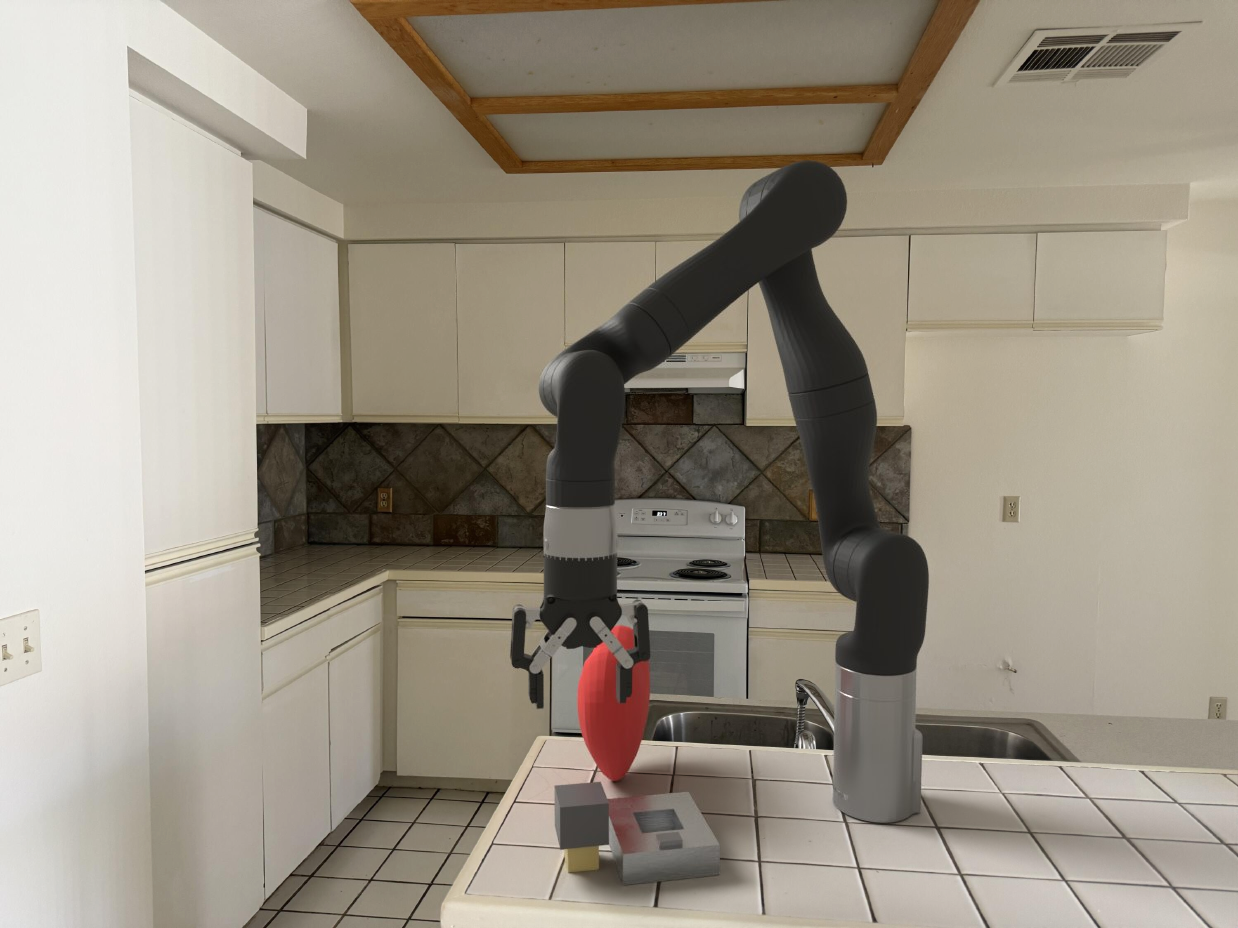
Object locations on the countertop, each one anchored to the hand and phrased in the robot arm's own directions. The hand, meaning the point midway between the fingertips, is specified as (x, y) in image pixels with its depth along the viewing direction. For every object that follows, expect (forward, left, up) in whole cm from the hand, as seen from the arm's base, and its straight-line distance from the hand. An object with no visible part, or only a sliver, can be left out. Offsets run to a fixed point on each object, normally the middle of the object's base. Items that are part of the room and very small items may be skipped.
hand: (580, 703), depth 88 cm
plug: (0, 0, -17) cm, 17 cm away
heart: (-7, -19, -17) cm, 26 cm away
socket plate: (-9, -1, -17) cm, 19 cm away
